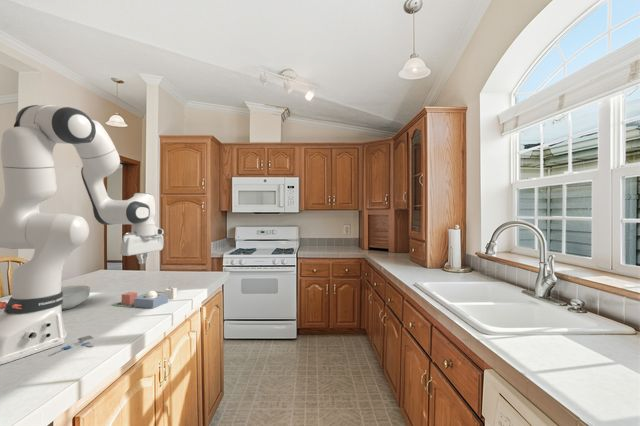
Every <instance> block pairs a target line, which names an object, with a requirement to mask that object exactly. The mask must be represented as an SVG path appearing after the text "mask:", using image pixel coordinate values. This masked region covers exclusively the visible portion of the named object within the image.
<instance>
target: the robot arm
mask: <svg viewBox="0 0 640 426" xmlns="http://www.w3.org/2000/svg"><path fill="white" fill-rule="evenodd" d="M103 126H104V125H102V123H100V122H99V121H97V120H95V119H91V118H90V116H89V115H88V114H87V113H85V112H83V111H82V110H80V109H77V108H74V107H70V106H68V107H67V106H64V107H63V106H59V105H55V104H40V105H39V104H34V105H32V104H31V105H29V106H26V107H23V108H21V109H20V110H19V111H18V112H17V114H16V116H15V123H14V124H13V127H10V128H7V129H6V130H4V131H3V133H2V136H1V144H0V145H1V146H0V147H1V148H0V156H1V157H0V158H1V166H2V173H3V174H2V175H3V181H4V197H3V201H2V204H1V205H0V248H3V249H8V250H29V249H30V250H31V249H33V250H34V251H33V255H32V258H31V259H30V260H28V261H26V262H24V263H22V264H20V265H18V266H17V267H16V268H15V269H14V270H13V272H12V274H11V297H10V298H9V300H8V301H7V302H6V301H0V310H3V313H2V314H0V365H3V364H7V363H10V362H13V361H16V360H19V359H22V358H26V357H28V356H30V355H33V354H36V353H40V352H42V351H45V350H48V349H51V348H55V347H57V346H60V345H63V344H64V343H65V339H66V338H67V337H68V333H67V330H66V328H65V323H64V319H63V310H62V309H61V306H62V303H63V292H62V291H61V287H62V281H63V279H62V278H63V272H64V271H63V270H64V266H65V263H66V261H67V260H68V257H69V256H70V255H71V254H72V252H74V251H75V250H76V249H77V248H78V247H81V246H82V245H83V244H84V243H85V242H86V241H87V239H88V237H89V235H90V225H89V224H88V221H87V220H86V219H85V218H84V217H83V216H80V215H76V214H71V213H65V212H41V211H40V207H41V203H43V202H45V201H47V200H48V199H51V198H52V197H53V196H55V194H56V193H57V191H58V183H57V175H56V168H55V159H54V156H53V154H54V153H53V152H54V147H55V146H56V145H57V144H71V145H72V146H74V148H75V151H76V153H77V154H78V157H79V158H80V160H81V163H82V167H81V168H80V169H81V170H80V173H81V174H80V176H81V179H82V181H83V184H84V187H85V189H86V193H87V195H88V197H89V200H90V202H91V205H92V212H93V217H94V218H95V220H96V221H97V222H98V223H100V224H101V225H102V226H103V225H104V226H107V225H110V226H111V225H131V229H130V231H131V232H130V231H129V232H125V234H123V235H122V240H121V243H120V245H121V246H120V255H121V256H123V257H124V256H127V257H130V256H135V257H136V258H137V260H138V264H139V265H144V264H148V259H149V257H150V254H151V253H153V252H158V251H162V250H163V249H164V241H165V239H164V229H163V228H160V227H158V226H156V221H155V217H156V214H157V213H156V200H155V197H154V195H153V194H150V193H145V192H135V193H134V194H133V196H132V197H130V198H129V199H123V200H121V199H120V200H119V199H118V200H117V199H112V198H111V197H109V194H108V193H107V190H106V186H105V183H104V179H105V178H107V177H109V176H110V175H112V174H113V173H115V172H116V171H117V170H118V169H119V167H120V165H121V158H120V155H119V152H118V150H117V148H116V146H115V144H114V142H113V140H112V139H111V137H110V135H109V134H108V132H107V131H106V129H105V127H103Z"/></svg>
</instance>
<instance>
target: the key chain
mask: <svg viewBox="0 0 640 426" xmlns="http://www.w3.org/2000/svg"><path fill="white" fill-rule="evenodd" d="M92 339H94V337H93V336H92V335H86V336H81V337H79V338H77V340H78V341H77V342H75V343H74V342H71V343H69V344H68V345H67V346H64V347H62V348H61V349H60V350H57V351H55V352H53V353H51V354H49V355H47V356H48V357H50V356H52V355H54V354H57V353H60V352H61V351H64V350H68V349H70V348H71V349H73V348H74V347H73V346H71V345H74V346H76V345H77V346H80V347H89V348H93V347H94V344H91V343H90V342H89V341H88V340H92ZM85 341H88V342H85Z"/></svg>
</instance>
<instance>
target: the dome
mask: <svg viewBox="0 0 640 426" xmlns="http://www.w3.org/2000/svg"><path fill="white" fill-rule="evenodd" d="M146 293H147V294H146ZM146 293H145V294H146V298H155V297H157V293H156V292H155V290H149V291H148V292H146Z"/></svg>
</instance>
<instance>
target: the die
mask: <svg viewBox="0 0 640 426" xmlns="http://www.w3.org/2000/svg"><path fill="white" fill-rule="evenodd" d="M163 292H164V294H168V300H174V299H176V298H177V297H178V288H177V287H167V288H165V289H164V290H163Z"/></svg>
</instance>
